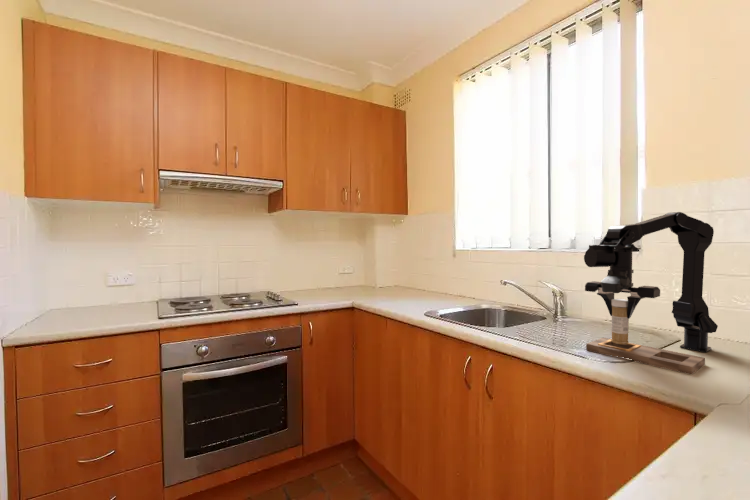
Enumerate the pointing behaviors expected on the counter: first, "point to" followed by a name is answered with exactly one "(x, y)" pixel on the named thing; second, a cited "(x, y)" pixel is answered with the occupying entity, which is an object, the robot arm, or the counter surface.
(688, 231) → the robot arm
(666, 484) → the counter surface
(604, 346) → the rail
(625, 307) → the sprinkles bottle
